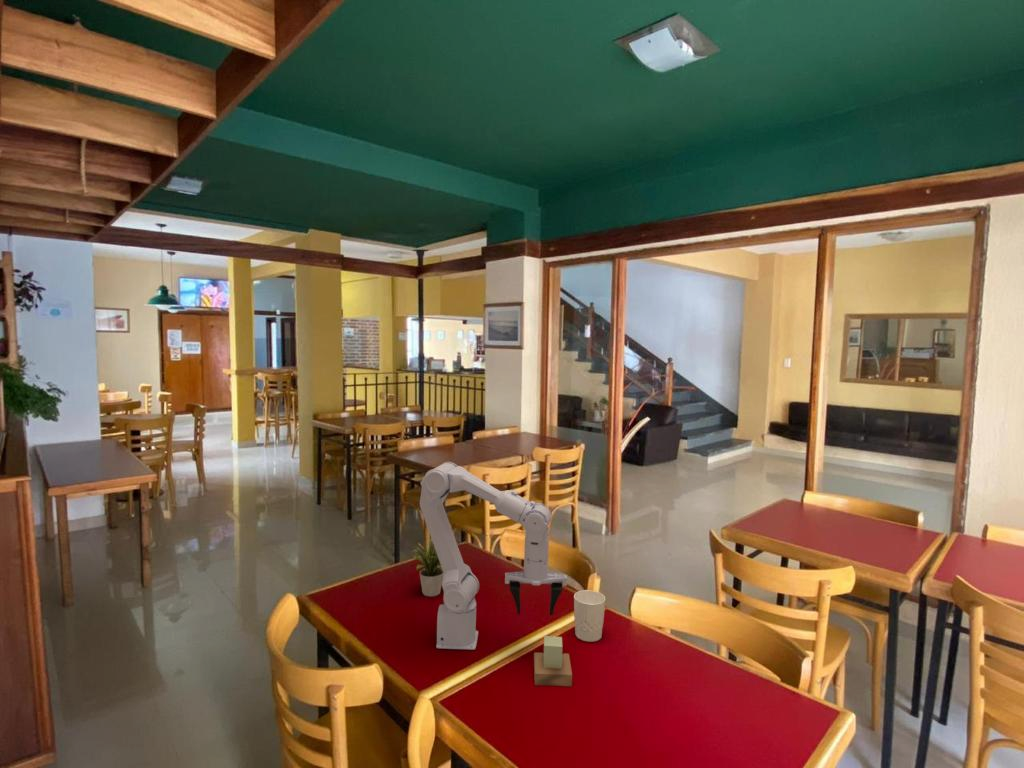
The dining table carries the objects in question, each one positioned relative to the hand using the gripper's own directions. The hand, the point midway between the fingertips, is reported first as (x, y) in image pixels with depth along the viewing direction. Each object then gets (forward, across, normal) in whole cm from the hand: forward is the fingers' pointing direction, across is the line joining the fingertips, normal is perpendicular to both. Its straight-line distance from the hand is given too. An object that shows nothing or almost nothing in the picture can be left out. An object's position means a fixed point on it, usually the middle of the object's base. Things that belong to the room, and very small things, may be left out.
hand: (534, 612), depth 126 cm
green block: (+7, +4, -8) cm, 12 cm away
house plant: (+10, -30, +28) cm, 42 cm away
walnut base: (+10, +4, -8) cm, 14 cm away
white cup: (+10, +14, +9) cm, 19 cm away
